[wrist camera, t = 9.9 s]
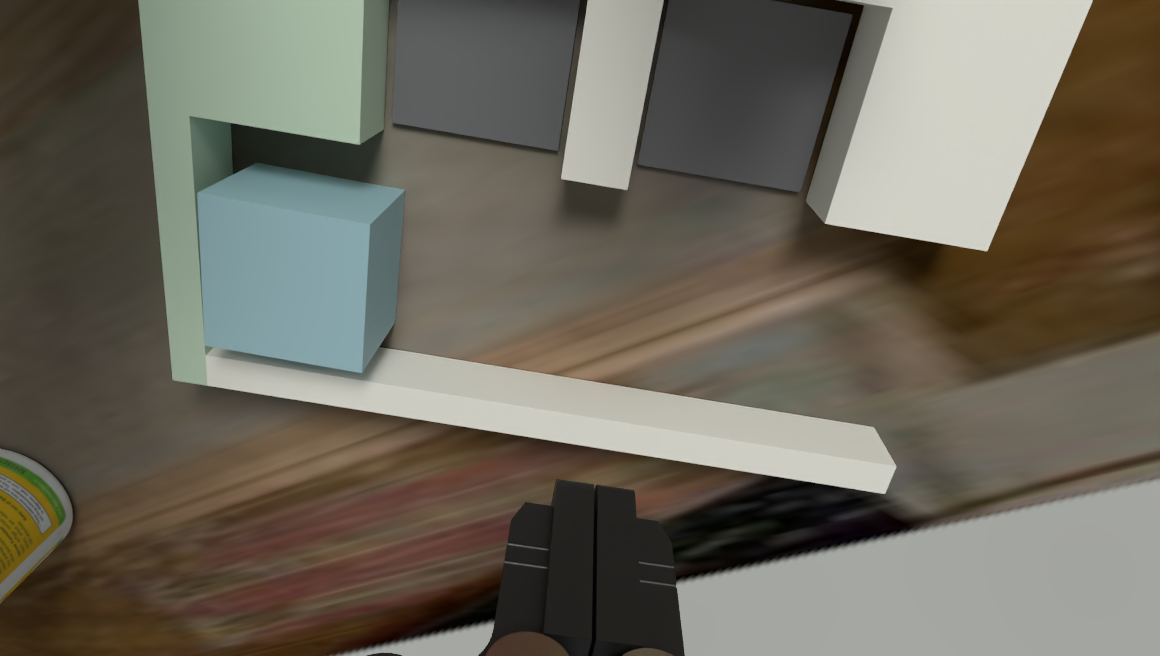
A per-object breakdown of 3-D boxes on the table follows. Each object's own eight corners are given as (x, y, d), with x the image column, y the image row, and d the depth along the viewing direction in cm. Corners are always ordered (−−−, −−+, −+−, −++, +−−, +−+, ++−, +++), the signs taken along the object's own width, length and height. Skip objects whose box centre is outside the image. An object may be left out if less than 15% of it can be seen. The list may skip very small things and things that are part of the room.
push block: (260, 296, 27) (205, 345, 23) (258, 161, 25) (197, 192, 21) (396, 320, 27) (361, 373, 23) (406, 189, 25) (370, 224, 21)
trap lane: (209, 347, 28) (172, 380, 25) (175, -166, 21) (121, -184, 18) (863, 453, 28) (884, 493, 26) (1045, -10, 21) (1096, -9, 19)
